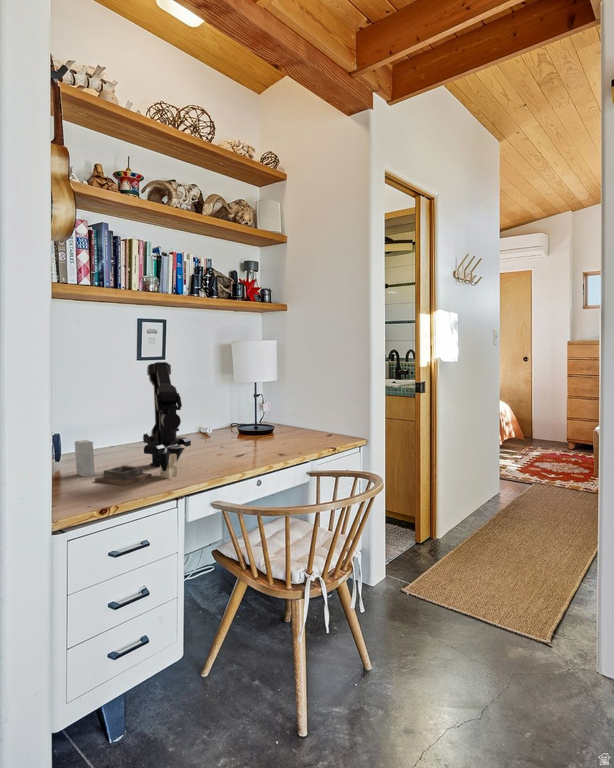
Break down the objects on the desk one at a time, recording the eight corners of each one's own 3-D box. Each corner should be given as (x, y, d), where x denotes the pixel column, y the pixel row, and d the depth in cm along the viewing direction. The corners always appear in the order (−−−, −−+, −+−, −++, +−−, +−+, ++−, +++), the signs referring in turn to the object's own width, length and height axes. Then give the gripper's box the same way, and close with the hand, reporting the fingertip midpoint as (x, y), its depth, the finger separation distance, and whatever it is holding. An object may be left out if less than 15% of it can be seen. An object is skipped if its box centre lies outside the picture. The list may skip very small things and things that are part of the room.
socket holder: (123, 473, 179) (122, 463, 179) (151, 476, 174) (151, 466, 174) (94, 481, 167) (94, 471, 167) (124, 485, 162) (124, 475, 162)
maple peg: (167, 474, 177) (167, 452, 176) (176, 476, 175) (176, 453, 175) (160, 477, 173) (159, 455, 173) (169, 478, 172) (169, 456, 171)
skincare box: (95, 475, 176) (94, 441, 175) (82, 477, 173) (81, 443, 172) (87, 472, 180) (86, 439, 180) (75, 474, 177) (74, 441, 176)
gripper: (166, 420, 185) (167, 462, 186) (130, 428, 168) (131, 473, 169) (191, 422, 180) (192, 464, 181) (156, 430, 163) (157, 476, 164)
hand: (168, 469), depth 174 cm, fingers open, 4 cm apart
